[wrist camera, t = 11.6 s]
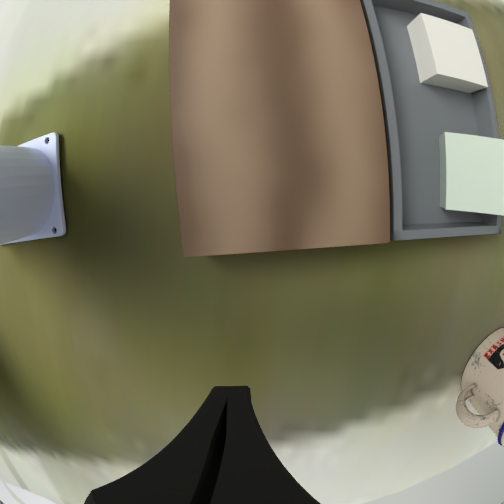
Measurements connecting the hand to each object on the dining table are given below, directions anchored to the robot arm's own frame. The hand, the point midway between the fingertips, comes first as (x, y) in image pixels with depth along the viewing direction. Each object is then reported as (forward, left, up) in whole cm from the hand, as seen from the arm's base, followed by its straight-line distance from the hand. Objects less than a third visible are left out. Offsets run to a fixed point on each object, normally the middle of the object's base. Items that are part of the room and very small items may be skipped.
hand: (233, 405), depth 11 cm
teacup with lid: (+23, -10, -11) cm, 27 cm away
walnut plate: (+3, +13, -10) cm, 17 cm away
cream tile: (+16, +18, -7) cm, 25 cm away
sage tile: (+16, +8, -7) cm, 19 cm away
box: (+14, +13, -10) cm, 22 cm away
